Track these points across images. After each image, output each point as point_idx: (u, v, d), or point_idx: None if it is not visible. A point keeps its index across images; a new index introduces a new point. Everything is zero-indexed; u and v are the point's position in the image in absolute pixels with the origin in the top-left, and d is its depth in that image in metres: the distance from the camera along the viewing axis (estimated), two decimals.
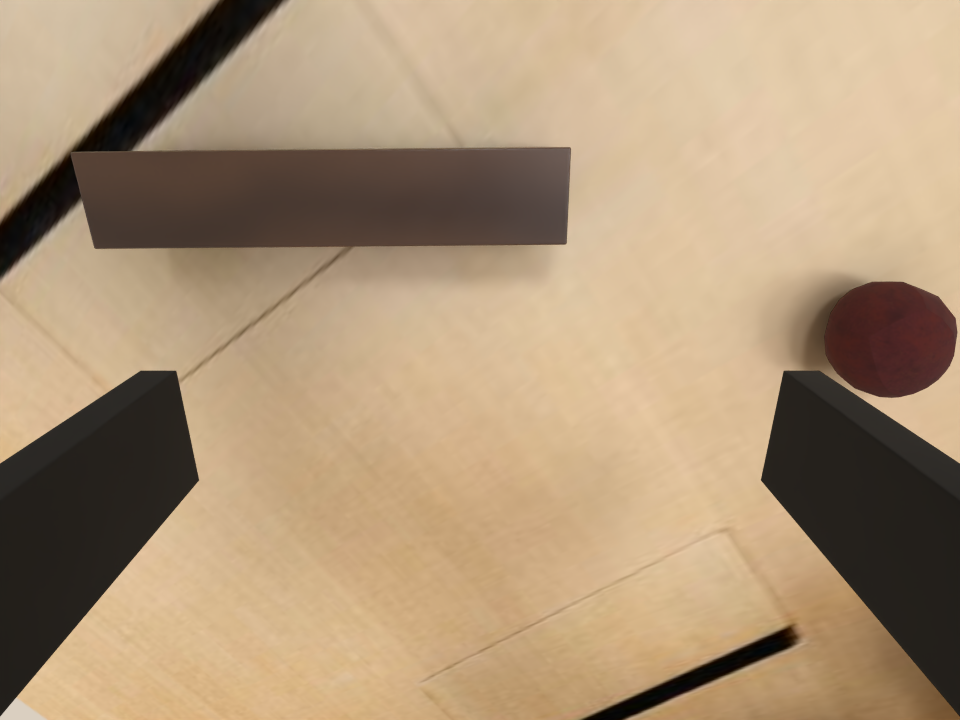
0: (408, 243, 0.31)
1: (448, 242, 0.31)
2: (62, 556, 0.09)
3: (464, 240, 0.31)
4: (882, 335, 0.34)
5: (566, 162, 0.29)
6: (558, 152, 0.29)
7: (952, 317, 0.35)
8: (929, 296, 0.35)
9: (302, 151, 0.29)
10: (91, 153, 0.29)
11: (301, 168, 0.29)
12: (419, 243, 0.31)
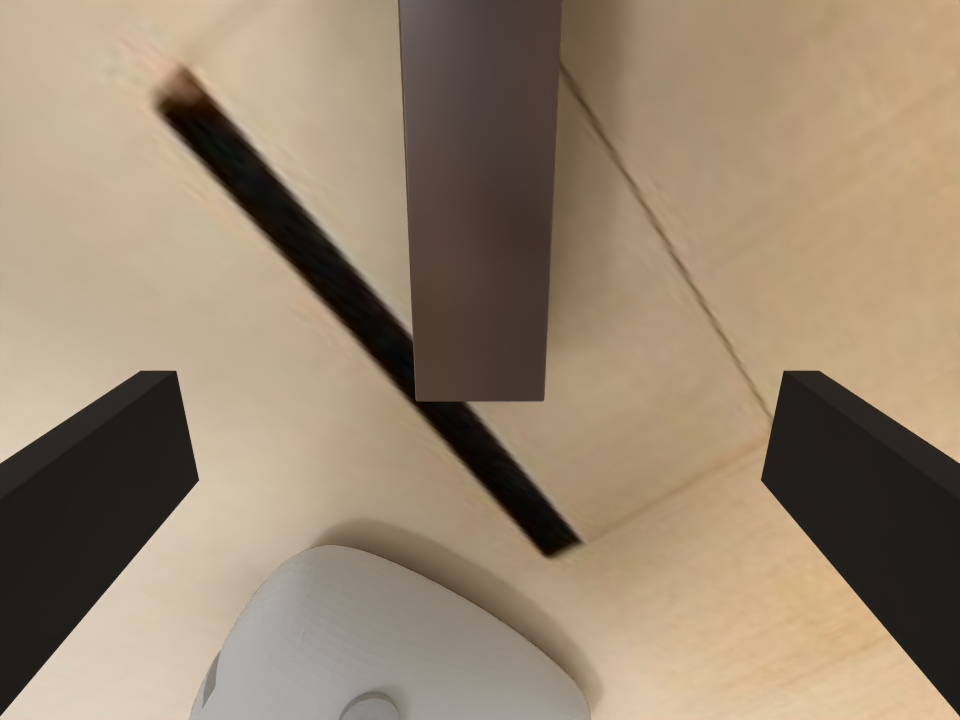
0: None
1: None
2: (63, 555, 0.09)
3: None
4: None
5: None
6: None
7: None
8: None
9: (402, 50, 0.17)
10: (416, 375, 0.21)
11: (429, 55, 0.17)
12: None
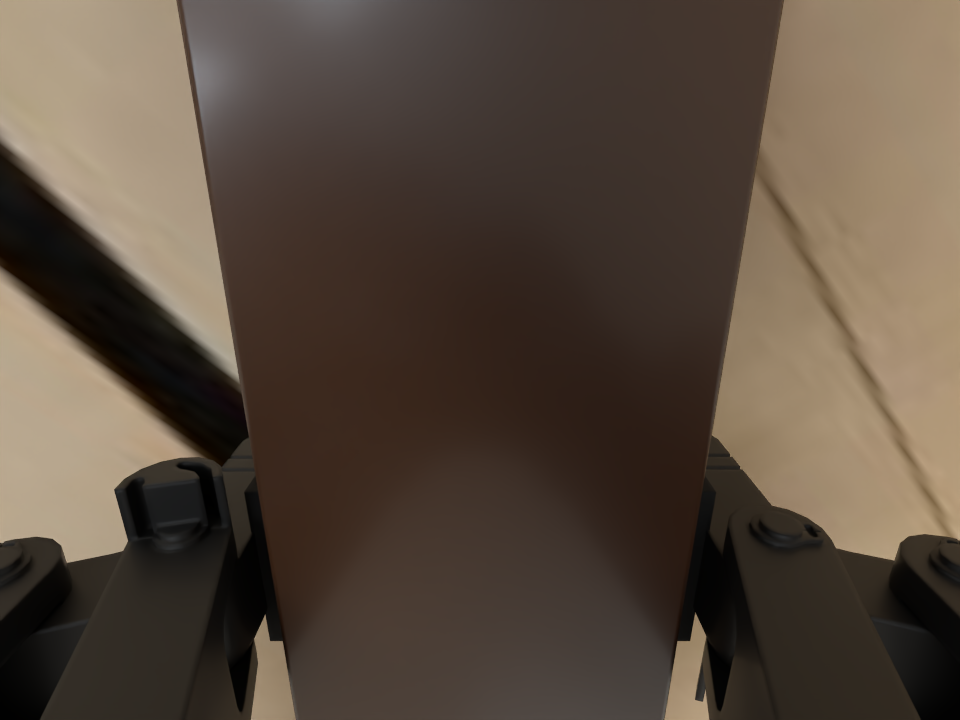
0: None
1: None
2: None
3: None
4: None
5: None
6: None
7: None
8: None
9: None
10: None
11: None
12: None
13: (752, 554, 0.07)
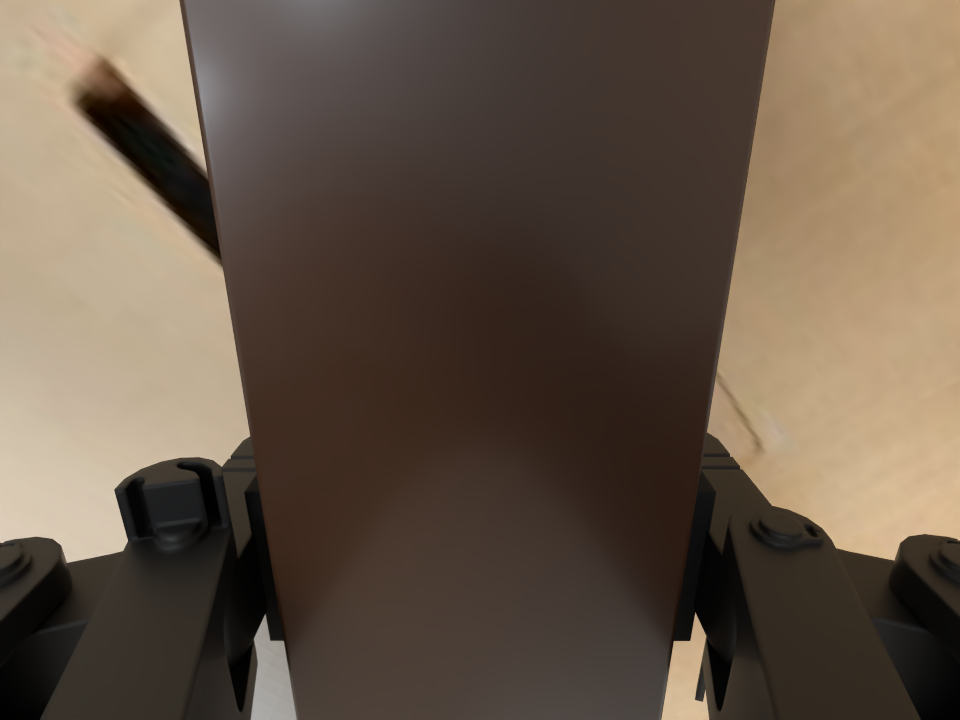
0: None
1: None
2: None
3: None
4: None
5: None
6: None
7: None
8: None
9: None
10: None
11: None
12: None
13: (752, 555, 0.07)
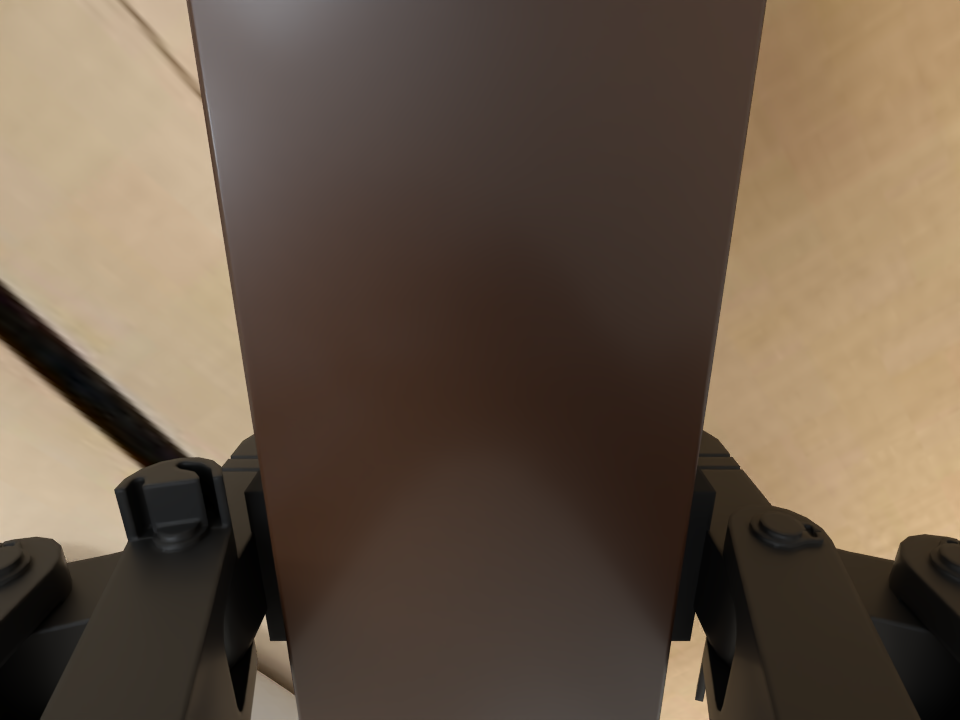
0: None
1: None
2: None
3: None
4: None
5: None
6: None
7: None
8: None
9: None
10: None
11: None
12: None
13: (751, 555, 0.07)
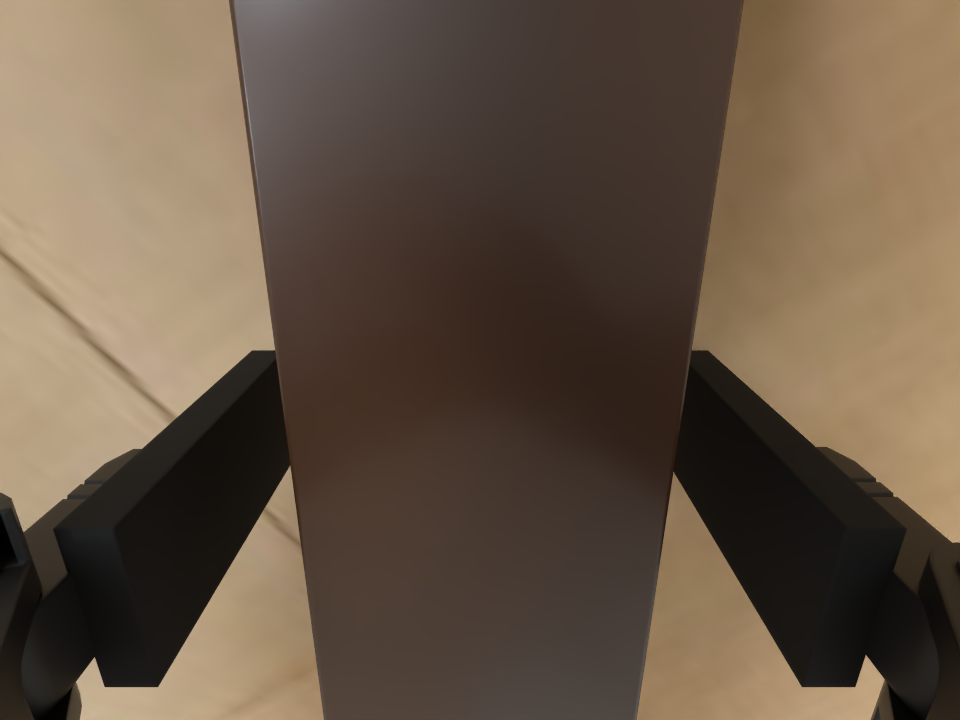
0: None
1: None
2: (220, 506, 0.10)
3: None
4: None
5: None
6: None
7: None
8: None
9: None
10: (324, 705, 0.09)
11: None
12: None
13: None
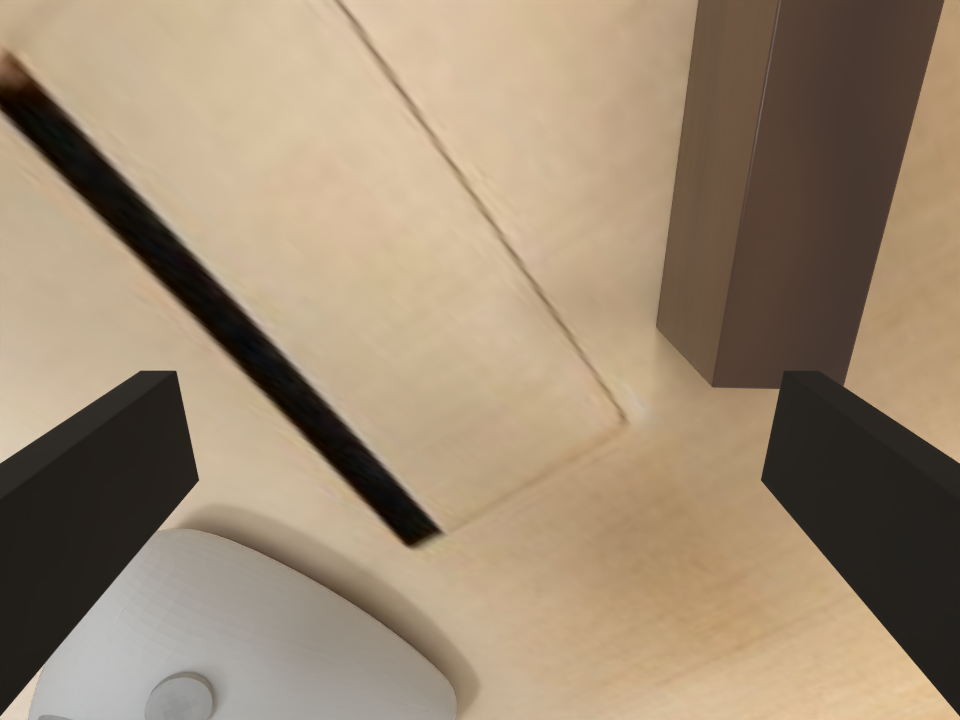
0: None
1: None
2: (62, 556, 0.09)
3: None
4: None
5: None
6: None
7: None
8: None
9: (776, 28, 0.17)
10: (718, 360, 0.21)
11: (803, 34, 0.17)
12: None
13: None
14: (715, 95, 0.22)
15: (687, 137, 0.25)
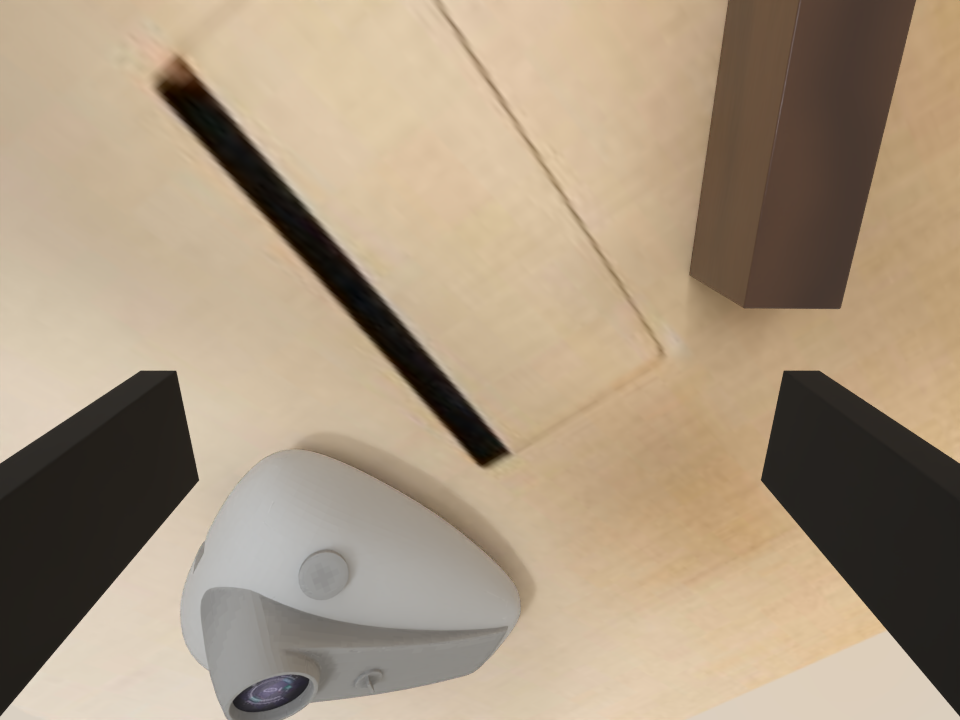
0: None
1: None
2: (63, 556, 0.09)
3: None
4: None
5: None
6: None
7: None
8: None
9: (794, 39, 0.24)
10: (749, 286, 0.28)
11: (813, 43, 0.24)
12: None
13: None
14: (743, 87, 0.29)
15: (717, 120, 0.32)
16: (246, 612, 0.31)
